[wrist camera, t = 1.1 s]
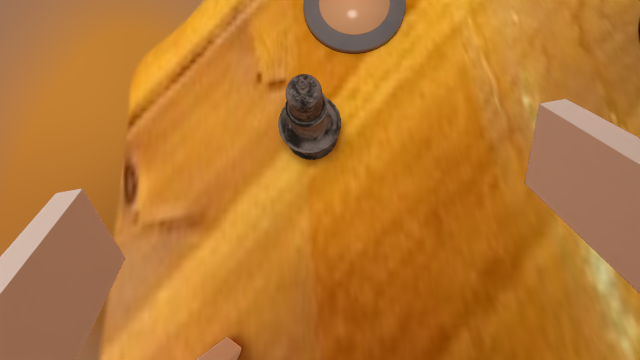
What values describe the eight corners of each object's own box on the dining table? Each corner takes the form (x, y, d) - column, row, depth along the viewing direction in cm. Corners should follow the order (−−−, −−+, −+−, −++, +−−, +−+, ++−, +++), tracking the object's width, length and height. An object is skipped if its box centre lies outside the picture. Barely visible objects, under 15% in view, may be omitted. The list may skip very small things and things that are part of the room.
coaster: (425, 10, 40) (427, 5, 40) (350, 73, 39) (350, 68, 38) (357, -53, 42) (357, -59, 42) (284, 5, 41) (282, 0, 40)
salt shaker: (344, 112, 39) (348, 49, 27) (335, 166, 37) (335, 126, 26) (289, 104, 39) (269, 38, 27) (278, 157, 38) (252, 113, 26)
